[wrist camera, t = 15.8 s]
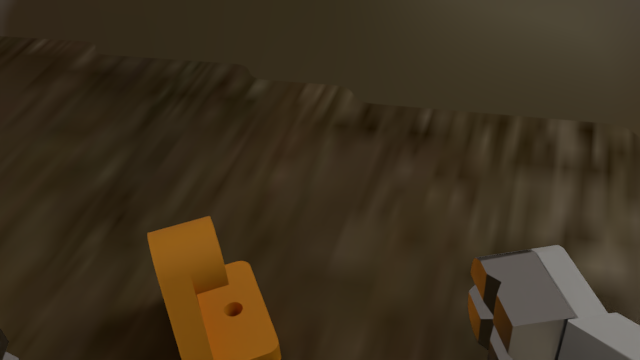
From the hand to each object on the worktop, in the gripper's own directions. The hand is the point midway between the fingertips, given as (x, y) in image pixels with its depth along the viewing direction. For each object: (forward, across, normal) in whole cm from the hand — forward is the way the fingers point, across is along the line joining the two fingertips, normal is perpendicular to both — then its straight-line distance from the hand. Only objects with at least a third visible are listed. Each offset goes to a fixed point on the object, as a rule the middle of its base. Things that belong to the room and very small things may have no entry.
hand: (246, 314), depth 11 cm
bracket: (+27, +6, +32) cm, 43 cm away
